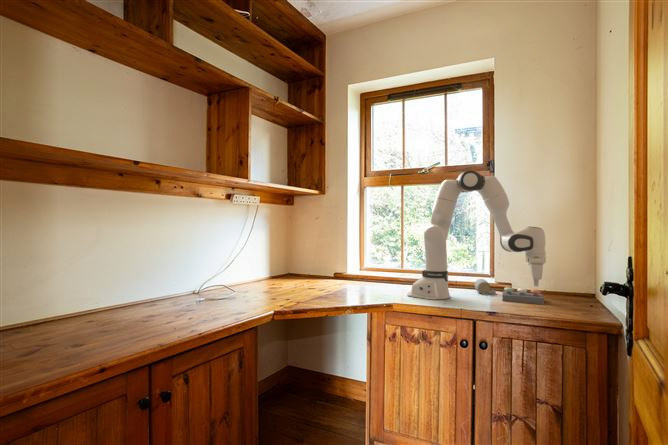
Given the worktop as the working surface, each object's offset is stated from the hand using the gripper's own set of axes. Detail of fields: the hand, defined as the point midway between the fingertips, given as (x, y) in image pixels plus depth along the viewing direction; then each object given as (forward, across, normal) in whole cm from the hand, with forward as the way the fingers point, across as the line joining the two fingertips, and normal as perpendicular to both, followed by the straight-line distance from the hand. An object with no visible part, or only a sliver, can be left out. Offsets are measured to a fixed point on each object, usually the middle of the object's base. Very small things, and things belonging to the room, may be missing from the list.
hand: (536, 286), depth 172 cm
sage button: (+6, 0, -12) cm, 14 cm away
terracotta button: (+6, 0, 0) cm, 6 cm away
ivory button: (+6, 0, -6) cm, 9 cm away
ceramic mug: (+8, -12, -24) cm, 28 cm away
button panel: (+8, 0, -6) cm, 10 cm away
